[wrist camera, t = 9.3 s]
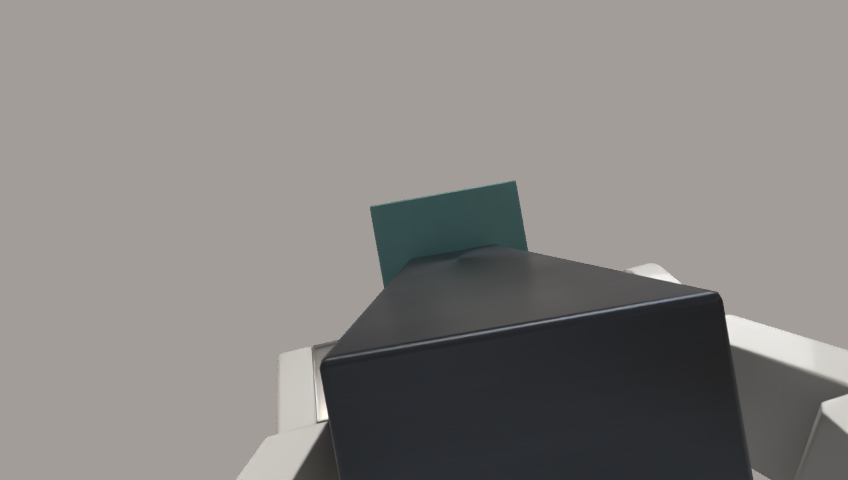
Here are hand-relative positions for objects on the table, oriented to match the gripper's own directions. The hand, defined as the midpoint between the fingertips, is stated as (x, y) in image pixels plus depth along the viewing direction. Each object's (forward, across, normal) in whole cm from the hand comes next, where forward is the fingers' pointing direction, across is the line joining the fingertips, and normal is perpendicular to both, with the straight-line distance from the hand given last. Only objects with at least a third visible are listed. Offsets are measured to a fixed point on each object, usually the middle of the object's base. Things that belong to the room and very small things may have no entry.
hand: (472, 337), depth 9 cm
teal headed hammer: (+3, -1, +4) cm, 5 cm away
